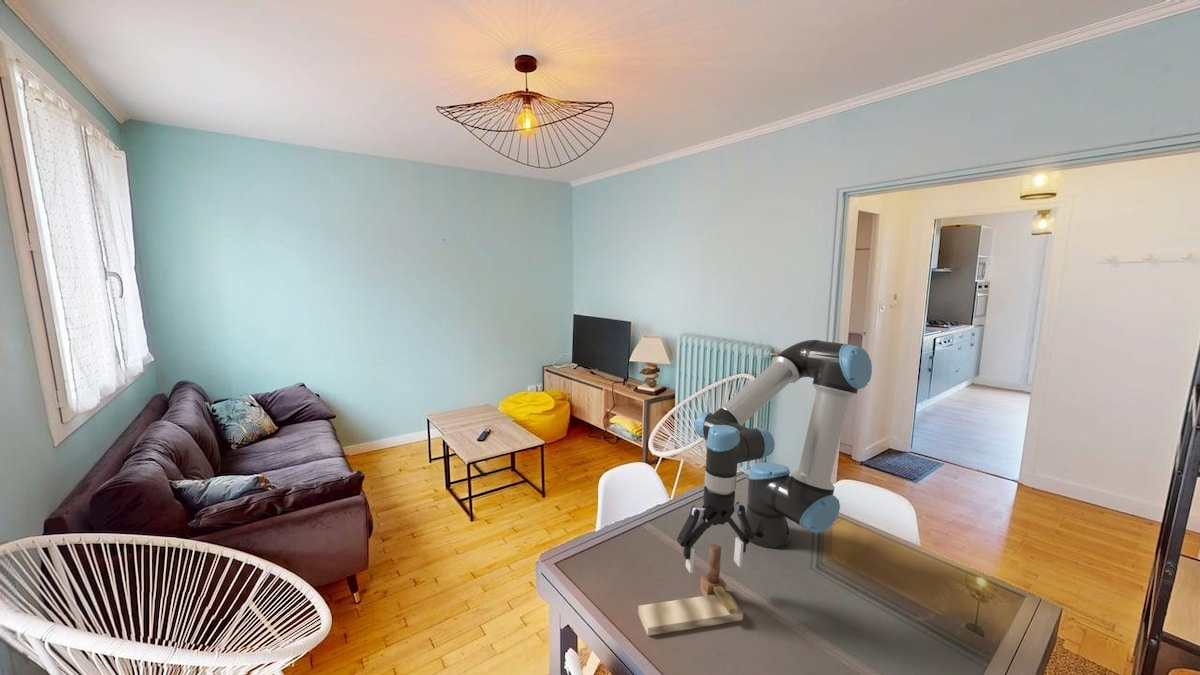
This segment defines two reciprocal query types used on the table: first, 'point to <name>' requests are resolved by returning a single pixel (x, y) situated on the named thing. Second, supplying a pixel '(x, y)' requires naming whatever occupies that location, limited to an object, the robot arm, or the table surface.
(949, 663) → the table surface
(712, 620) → the board
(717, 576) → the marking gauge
